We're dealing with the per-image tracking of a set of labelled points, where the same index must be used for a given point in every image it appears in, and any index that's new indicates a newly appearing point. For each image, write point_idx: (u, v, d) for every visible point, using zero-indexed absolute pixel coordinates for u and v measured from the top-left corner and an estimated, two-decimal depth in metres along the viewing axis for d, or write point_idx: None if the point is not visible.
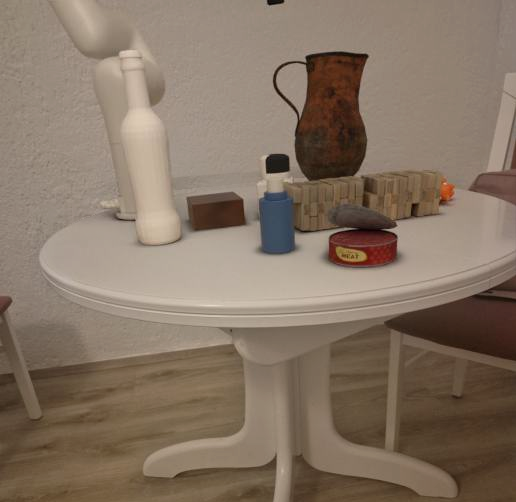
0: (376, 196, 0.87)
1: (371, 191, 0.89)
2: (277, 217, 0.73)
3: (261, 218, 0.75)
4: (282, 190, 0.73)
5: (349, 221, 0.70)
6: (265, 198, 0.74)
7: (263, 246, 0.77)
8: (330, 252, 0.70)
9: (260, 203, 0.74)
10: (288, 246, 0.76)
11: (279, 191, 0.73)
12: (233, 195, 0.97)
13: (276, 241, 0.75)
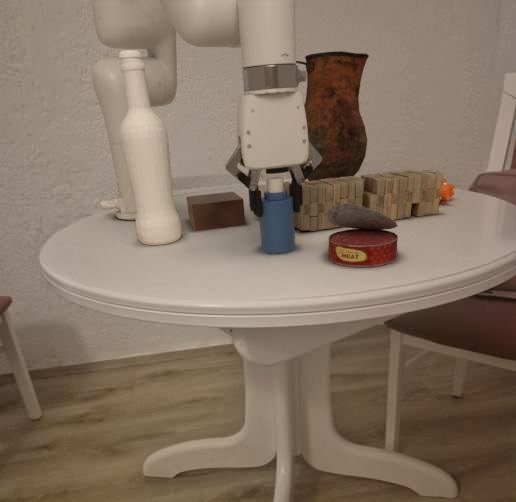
0: (376, 196, 0.87)
1: (371, 191, 0.89)
2: (277, 217, 0.73)
3: (261, 218, 0.75)
4: (282, 190, 0.73)
5: (349, 221, 0.70)
6: (265, 198, 0.74)
7: (263, 246, 0.77)
8: (330, 252, 0.70)
9: None
10: (288, 246, 0.76)
11: (279, 191, 0.73)
12: (233, 195, 0.97)
13: (276, 241, 0.75)
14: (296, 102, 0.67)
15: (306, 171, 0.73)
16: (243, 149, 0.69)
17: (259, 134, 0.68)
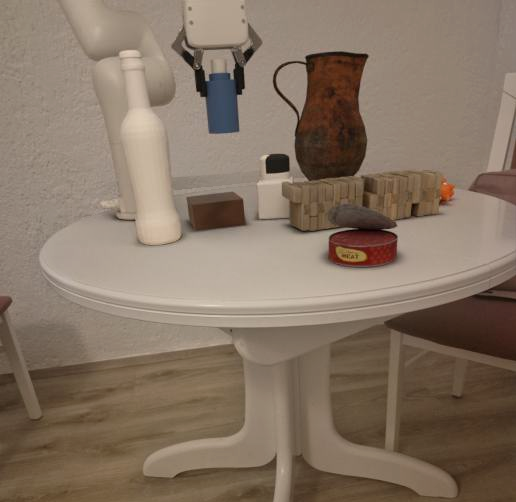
0: (376, 196, 0.87)
1: (371, 191, 0.89)
2: (220, 95, 0.79)
3: (206, 99, 0.81)
4: (225, 71, 0.79)
5: (349, 221, 0.70)
6: (209, 79, 0.80)
7: (209, 128, 0.83)
8: (330, 253, 0.70)
9: None
10: (231, 126, 0.82)
11: (222, 71, 0.79)
12: (233, 195, 0.97)
13: (220, 120, 0.81)
14: None
15: (247, 54, 0.79)
16: (186, 25, 0.75)
17: (200, 11, 0.74)
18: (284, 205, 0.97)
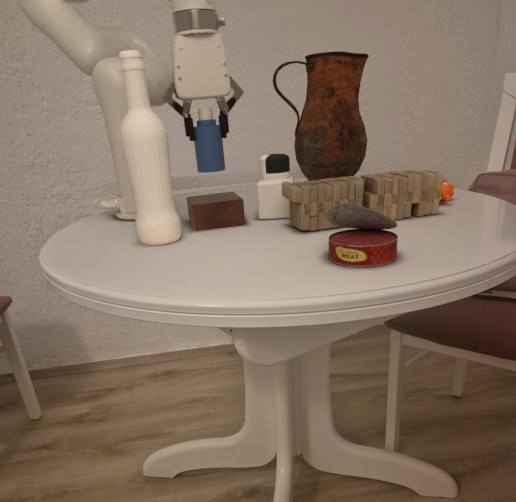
0: (376, 196, 0.87)
1: (371, 191, 0.89)
2: (206, 140, 0.89)
3: (195, 142, 0.91)
4: (211, 118, 0.89)
5: (349, 221, 0.70)
6: (197, 125, 0.90)
7: (198, 167, 0.93)
8: (330, 253, 0.70)
9: None
10: (218, 166, 0.92)
11: (208, 118, 0.89)
12: (233, 195, 0.97)
13: (207, 161, 0.91)
14: (216, 42, 0.83)
15: (230, 102, 0.89)
16: (175, 81, 0.85)
17: (187, 68, 0.84)
18: (284, 205, 0.97)
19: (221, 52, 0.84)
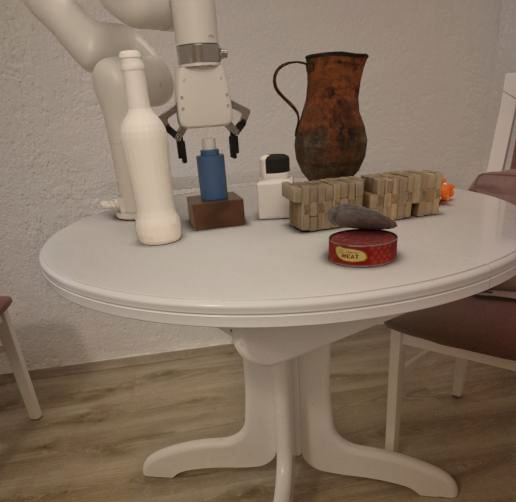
0: (376, 196, 0.87)
1: (371, 191, 0.89)
2: (210, 169, 0.91)
3: (198, 171, 0.93)
4: (214, 148, 0.92)
5: (349, 221, 0.70)
6: (201, 154, 0.92)
7: (201, 194, 0.95)
8: (330, 252, 0.70)
9: (197, 158, 0.92)
10: (220, 194, 0.94)
11: (211, 148, 0.91)
12: (233, 195, 0.97)
13: (210, 189, 0.93)
14: (219, 74, 0.86)
15: (241, 124, 0.91)
16: (178, 111, 0.87)
17: (190, 99, 0.86)
18: (284, 205, 0.97)
19: (223, 83, 0.86)
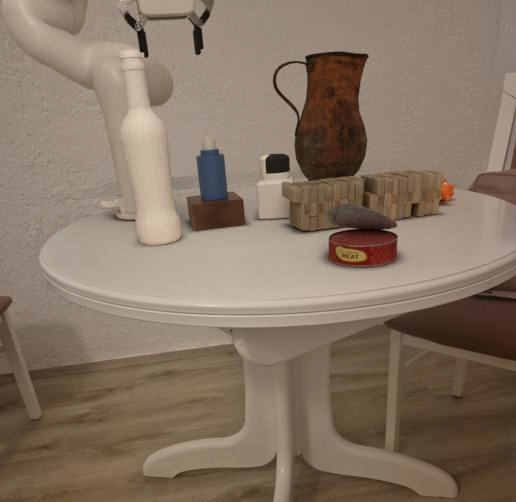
0: (376, 196, 0.87)
1: (371, 191, 0.89)
2: (210, 169, 0.91)
3: (198, 171, 0.93)
4: (214, 148, 0.92)
5: (349, 221, 0.70)
6: (201, 154, 0.92)
7: (201, 194, 0.95)
8: (330, 252, 0.70)
9: (197, 158, 0.92)
10: (220, 194, 0.94)
11: (211, 148, 0.91)
12: (233, 195, 0.97)
13: (210, 189, 0.93)
14: None
15: (204, 15, 0.88)
16: None
17: None
18: (284, 205, 0.97)
19: None
